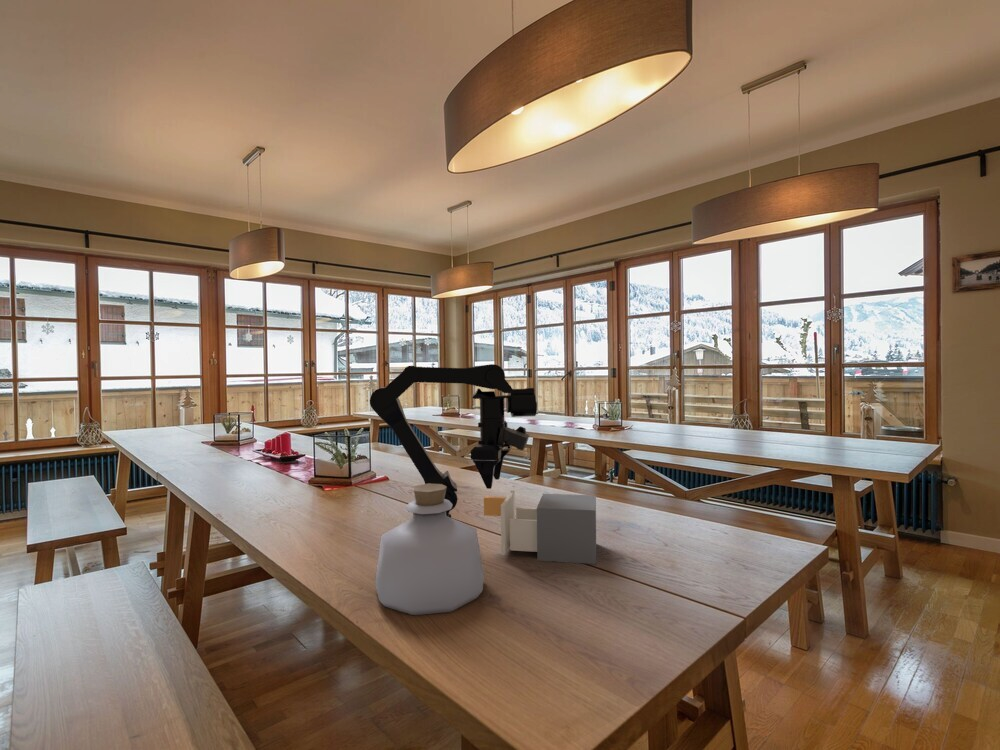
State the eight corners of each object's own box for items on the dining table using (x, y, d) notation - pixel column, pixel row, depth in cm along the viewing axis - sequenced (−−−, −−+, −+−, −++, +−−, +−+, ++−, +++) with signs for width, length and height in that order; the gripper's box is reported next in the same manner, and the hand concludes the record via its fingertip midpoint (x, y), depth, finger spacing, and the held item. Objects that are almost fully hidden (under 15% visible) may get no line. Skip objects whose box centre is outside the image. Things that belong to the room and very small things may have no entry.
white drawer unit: (478, 553, 106) (477, 504, 106) (490, 533, 118) (490, 490, 118) (556, 558, 103) (555, 507, 103) (560, 537, 115) (560, 492, 115)
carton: (537, 560, 104) (536, 508, 104) (543, 540, 116) (543, 493, 115) (596, 564, 102) (595, 510, 101) (596, 543, 113) (595, 495, 113)
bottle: (506, 581, 94) (504, 481, 94) (443, 629, 77) (441, 507, 77) (423, 561, 104) (421, 471, 104) (351, 600, 87) (349, 493, 87)
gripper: (520, 422, 106) (521, 495, 107) (531, 413, 125) (532, 476, 125) (469, 421, 109) (470, 493, 109) (487, 413, 127) (488, 474, 127)
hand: (493, 483), depth 117 cm, fingers open, 9 cm apart
